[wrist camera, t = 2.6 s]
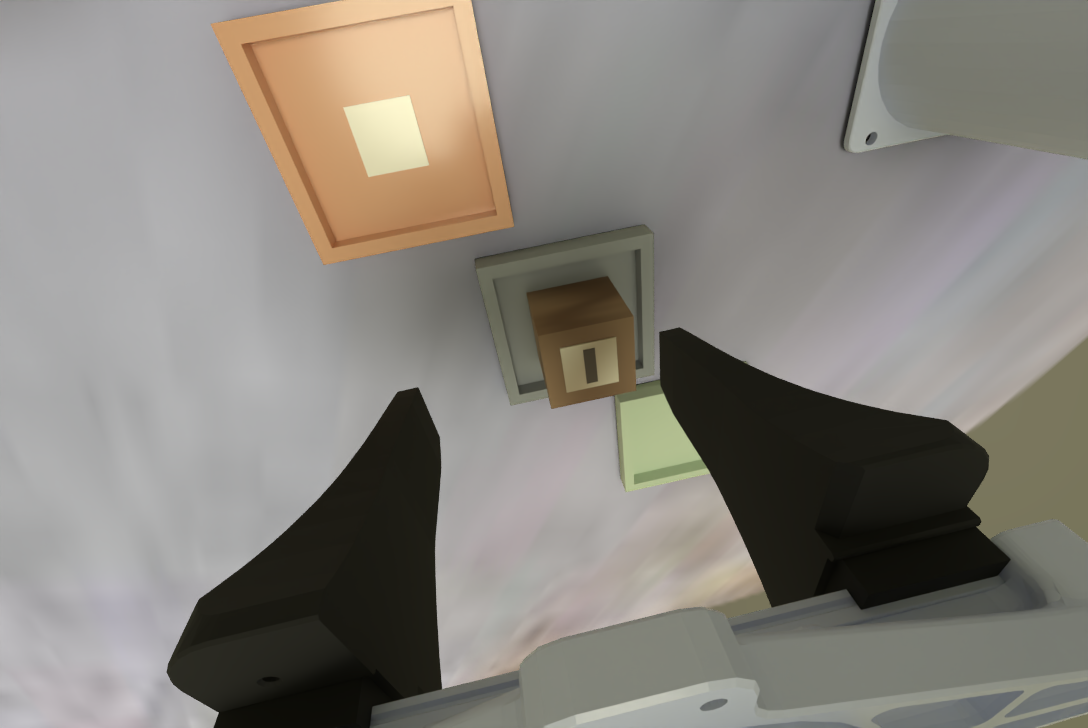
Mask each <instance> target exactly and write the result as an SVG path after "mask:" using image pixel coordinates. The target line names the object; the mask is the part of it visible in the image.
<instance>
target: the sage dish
mask: <svg viewBox="0 0 1088 728" xmlns="http://www.w3.org/2000/svg"><path fill="white" fill-rule="evenodd" d="M744 363H746V362H744ZM746 364H747V363H746ZM615 407H616V421H617V435H618V448H619V462H620V475H621V480H622V483H623V486H624V488H625V491H626V492H629V491H633V490H638V489H642V488H647V487H651V486H656V485H660V484H665V483H669V482H673V481H678V480H682V479H687V478H691V477H696V476H700V475H705V474H709V473H710V472H709V470H708V469H707V467H706V465H705V464H704V462H703V461H702V459H701V458H700V456H699V454H698V453H697V451H696V450H695V448H694V447H693V445H692V443H691V442H690V440H689V439H688V437H687V435H686V434H685V432H684V431H683V429H682V428H681V426H680V424H679V423H678V421H677V419H676V418H675V416H674V415H673V413H672V411H671V408H670V406H669V404H668V402H667V400H666V398H665V395H664V393H663V391H662V388H661V386H660V380H657V381H653V382H648V383H644V384H639V385H636V391H632V392H627V393H623V394H618V395H615Z"/></svg>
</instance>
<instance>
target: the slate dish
mask: <svg viewBox="0 0 1088 728" xmlns="http://www.w3.org/2000/svg"><path fill="white" fill-rule="evenodd" d="M475 266H476V272H477V276H478V280H479V284H480V288H481V292H482V296H483V300H484V304H485V307H486V311H487V315H488V319H489V323H490V327H491V331H492V335H493V339H494V342H495V346H496V350H497V354H498V358H499V362H500V366H501V370H502V374H503V377H504V381H505V385H506V389H507V393H508V397H509V401H510V405H516V404H521V403H525V402H530V401H534V400H539V399H544V398H548V393H547V389H546V385H545V381H544V377H543V373H542V369H541V365H540V361H539V356H538V351H537V346H536V341H535V335H534V330H533V325H532V320H531V315H530V309H529V304H528V299H527V294H526V293H528V292H532V291H537V290H542V289H547V288H552V287H557V286H562V285H566V284H571V283H576V282H581V281H586V280H591V279H596V278H600V277H605V276H608V277H609V279H610V280H611V282H612V283H613V285H614V286H615V288H616V290H617V291H618V293H619V294H620V296H621V297H622V299H623V300H624V302H625V303H626V305H627V307H628V308H629V310H630V311H631V313H632V314H633V316H634V340H635V368H636V379H637V378H641V377H646V376H651V375H654V233H653V232H652V231H651V230H650V229H649V228H648V227H647V226H646V225H640V226H635V227H630V228H625V229H620V230H615V231H610V232H605V233H600V234H595V235H590V236H585V237H580V238H575V239H571V240H566V241H561V242H556V243H551V244H546V245H541V246H536V247H531V248H526V249H521V250H516V251H511V252H506V253H501V254H496V255H492V256H487V257H482V258H477V259H475Z"/></svg>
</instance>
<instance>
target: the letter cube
mask: <svg viewBox="0 0 1088 728" xmlns="http://www.w3.org/2000/svg"><path fill="white" fill-rule="evenodd" d="M526 294H527V299H528V304H529V309H530V315H531V320H532V325H533V330H534V335H535V341H536V346H537V351H538V356H539V361H540V365H541V369H542V373H543V377H544V381H545V385H546V389H547V393H548V397H549V401H550V405H551V409H553V408H558V407H563V406H567V405H572V404H577V403H581V402H586V401H590V400H595V399H600V398H604V397H609V396H614V395H618V394H623V393H627V392H632V391H636V368H635V340H634V316H633V314H632V313H631V311H630V310H629V308H628V307H627V305H626V303H625V302H624V300H623V299H622V297H621V296H620V294H619V293H618V291H617V290H616V288H615V286H614V285H613V283H612V282H611V280H610V279H609V277H608V276H605V277H600V278H596V279H591V280H586V281H581V282H576V283H571V284H566V285H562V286H557V287H552V288H547V289H542V290H537V291H532V292H528V293H526Z"/></svg>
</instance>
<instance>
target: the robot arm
mask: <svg viewBox="0 0 1088 728" xmlns="http://www.w3.org/2000/svg"><path fill="white" fill-rule="evenodd" d="M870 133H871V136H870V138H869V140H868V141H867V142H866V138H867V136H868V135H869V134H870ZM944 135H954V136H960V137H965V138H971V139H976V140H982V141H988V142H993V143H999V144H1004V145H1010V146H1016V147H1021V148H1027V149H1033V150H1038V151H1044V152H1049V153H1055V154H1061V155H1066V156H1072V157H1077V158H1083V159H1088V0H876V1H875V5H874V10H873V14H872V19H871V23H870V28H869V32H868V37H867V41H866V46H865V50H864V55H863V59H862V64H861V68H860V72H859V77H858V81H857V86H856V90H855V95H854V99H853V104H852V108H851V113H850V117H849V122H848V126H847V131H846V135H845V139H844V148H845V150H846V151H848V152H851V153H859V152H864V151H869V150H874V149H879V148H884V147H889V146H894V145H899V144H904V143H909V142H914V141H919V140H924V139H929V138H934V137H939V136H944ZM659 338H660V386H661V388H662V391H663V393H664V395H665V398H666V400H667V402H668V404H669V406H670V408H671V411H672V413H673V415H674V416H675V418H676V419H677V421H678V423H679V424H680V426H681V428H682V429H683V431H684V432H685V434H686V435H687V437H688V439H689V440H690V442H691V443H692V445H693V447H694V448H695V450H696V451H697V453H698V454H699V456H700V458H701V459H702V461H703V462H704V464H705V465H706V467H707V469H708V470H709V472H710V474H711V475H712V477H713V479H714V481H715V482H716V484H717V486H718V488H719V490H720V492H721V494H722V496H723V498H724V501H725V503H726V505H727V507H728V509H729V511H730V513H731V515H732V517H733V519H734V521H735V524H736V526H737V528H738V530H739V532H740V534H741V536H742V539H743V541H744V543H745V545H746V548H747V550H748V552H749V554H750V557H751V559H752V561H753V564H754V566H755V568H756V570H757V573H758V575H759V577H760V580H761V582H762V585H763V587H764V590H765V592H766V594H767V597H768V599H769V601H770V604H771V607H772V608H768V609H765V610H760V611H756V612H752V613H748V614H744V615H740V616H736V617H732V618H728V619H727V618H726V616H725V614H724V613H721V612H719V611H716V610H712V609H708V608H705V607H694V608H686V609H677V610H673V611H669V612H665V613H661V614H657V615H653V616H649V617H645V618H641V619H637V620H633V621H629V622H625V623H621V624H617V625H613V626H608V627H604V628H600V629H596V630H592V631H588V632H584V633H580V634H576V635H572V636H568V637H564V638H560V639H558V640H555V641H553V642H550V643H547V644H545V645H542V646H540V647H538V648H537V649H536V650H534V651H533V652H532V653H531V654H529V655H528V656H527V657H526V658H525V659H524V660H523V661H522V663H521V664H520V670H518V671H514V672H510V673H506V674H502V675H498V676H494V677H490V678H486V679H482V680H478V681H474V682H470V683H465V684H461V685H457V686H453V687H449V688H445V689H442V683H441V671H440V659H439V642H438V626H437V605H436V578H435V537H436V525H437V513H438V502H439V490H440V478H441V450H440V437H439V434H438V432H437V430H436V427H435V425H434V423H433V420H432V418H431V416H430V413H429V411H428V409H427V406H426V404H425V402H424V400H423V397H422V395H421V393H420V390H419V388H418V387H417V388H413V389H408V390H404V391H400V392H397V394H396V395H395V397H394V398H393V400H392V401H391V403H390V404H389V406H388V407H387V409H386V410H385V412H384V413H383V415H382V417H381V418H380V420H379V421H378V423H377V424H376V426H375V427H374V429H373V430H372V432H371V433H370V435H369V436H368V438H367V439H366V441H365V442H364V444H363V445H362V446H361V448H360V449H359V450H358V452H357V453H356V454H355V456H354V457H353V458H352V460H351V461H350V462H349V464H348V465H347V466H346V468H345V469H344V470H343V471H342V473H341V474H340V475H339V476H338V477H337V479H336V480H335V481H334V482H333V483H332V484H331V486H330V487H329V488H328V489H327V490H326V491H325V492H324V493H323V494H322V496H321V497H320V498H319V499H318V500H317V501H316V502H315V503H314V504H313V505H312V506H311V507H310V508H309V509H308V510H307V511H306V512H305V513H304V514H303V515H302V516H301V517H300V518H299V519H298V520H297V521H296V522H294V523H293V524H292V525H291V526H290V527H289V528H288V529H287V530H286V531H285V532H284V533H283V534H282V535H281V536H279V537H278V538H277V539H276V540H275V541H274V542H273V543H271V544H270V545H269V546H268V547H267V548H266V549H264V550H263V551H262V552H261V553H259V554H258V555H257V556H256V557H255V558H253V559H252V560H251V561H250V562H248V563H247V564H246V565H245V566H243V567H242V568H241V569H239V570H238V571H237V572H235V573H234V574H233V575H231V576H230V577H229V578H227V579H226V580H225V581H223V582H222V583H221V584H219V585H218V586H217V587H215V588H214V589H213V590H211V591H210V592H209V593H207V594H206V595H204V596H203V597H201V598H200V599H199V600H198V602H197V604H196V606H195V608H194V610H193V612H192V614H191V616H190V619H189V621H188V623H187V625H186V627H185V629H184V631H183V633H182V636H181V638H180V640H179V642H178V644H177V646H176V648H175V650H174V652H173V655H172V657H171V659H170V661H169V663H168V668H167V674H168V676H169V678H170V680H171V682H172V683H173V685H175V686H176V687H177V688H178V689H180V690H181V691H182V692H184V693H186V694H187V695H189V696H191V697H193V698H194V699H196V700H198V701H200V702H201V703H203V704H205V705H207V706H208V707H210V708H212V709H213V710H215V711H217V712H219V714H218V717H217V720H216V722H215V725H214V728H1041V727H1044V726H1047V725H1051V724H1054V723H1058V722H1061V721H1064V720H1068V719H1071V718H1074V717H1078V716H1081V715H1085V714H1088V543H1087V542H1086V541H1084V540H1083V539H1082V538H1080V537H1079V536H1078V535H1077V534H1075V533H1074V532H1073V531H1072V530H1070V529H1069V528H1068V527H1066V526H1065V525H1064V524H1063V523H1061V522H1060V521H1059V520H1053V519H1052V520H1047V521H1043V522H1039V523H1035V524H1031V525H1027V526H1022V527H1018V528H1015V529H1010V530H1007V531H1004V532H1002V533H999V534H998V535H996V536H994V537H992V538H991V539H988V538H987V537H986V536H985V535H984V534H983V533H982V532H981V531H980V530H979V529H978V528H977V527H976V526H979V525H980V523H981V520H980V517H978V516H977V515H976V514H975V513H974V512H973V511H972V510H970V508H969V507H967V505H968V503H969V501H970V500H971V498H972V497H973V495H974V493H975V492H976V490H977V489H978V487H979V486H980V484H981V482H982V481H983V479H984V477H985V475H986V473H987V471H988V466H989V455H988V454H987V452H986V450H985V449H984V448H983V447H982V446H980V445H979V444H977V443H976V442H975V441H974V440H972V439H971V438H969V437H968V436H967V435H966V434H965V433H963V432H962V431H961V430H959V429H958V428H957V427H955V426H954V425H953V424H951V423H950V422H949V421H947V420H941V419H935V418H929V417H923V416H917V415H911V414H905V413H899V412H894V411H889V410H884V409H880V408H875V407H871V406H866V405H862V404H858V403H854V402H850V401H846V400H842V399H839V398H835V397H832V396H829V395H825V394H822V393H819V392H815V391H812V390H809V389H806V388H803V387H801V386H798V385H795V384H793V383H790V382H787V381H785V380H782V379H779V378H777V377H775V376H772V375H770V374H768V373H765V372H763V371H761V370H759V369H757V368H755V367H752V366H750V365H748V364H746V363H744V362H742V361H740V360H738V359H736V358H734V357H732V356H730V355H728V354H727V353H725V352H723V351H721V350H719V349H717V348H716V347H714V346H712V345H710V344H708V343H707V342H705V341H703V340H701V339H700V338H698V337H696V336H694V335H693V334H691V333H689V332H687V331H685V330H684V329H682V328H680V327H679V328H675V329H671V330H666V331H662V332H659Z"/></svg>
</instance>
